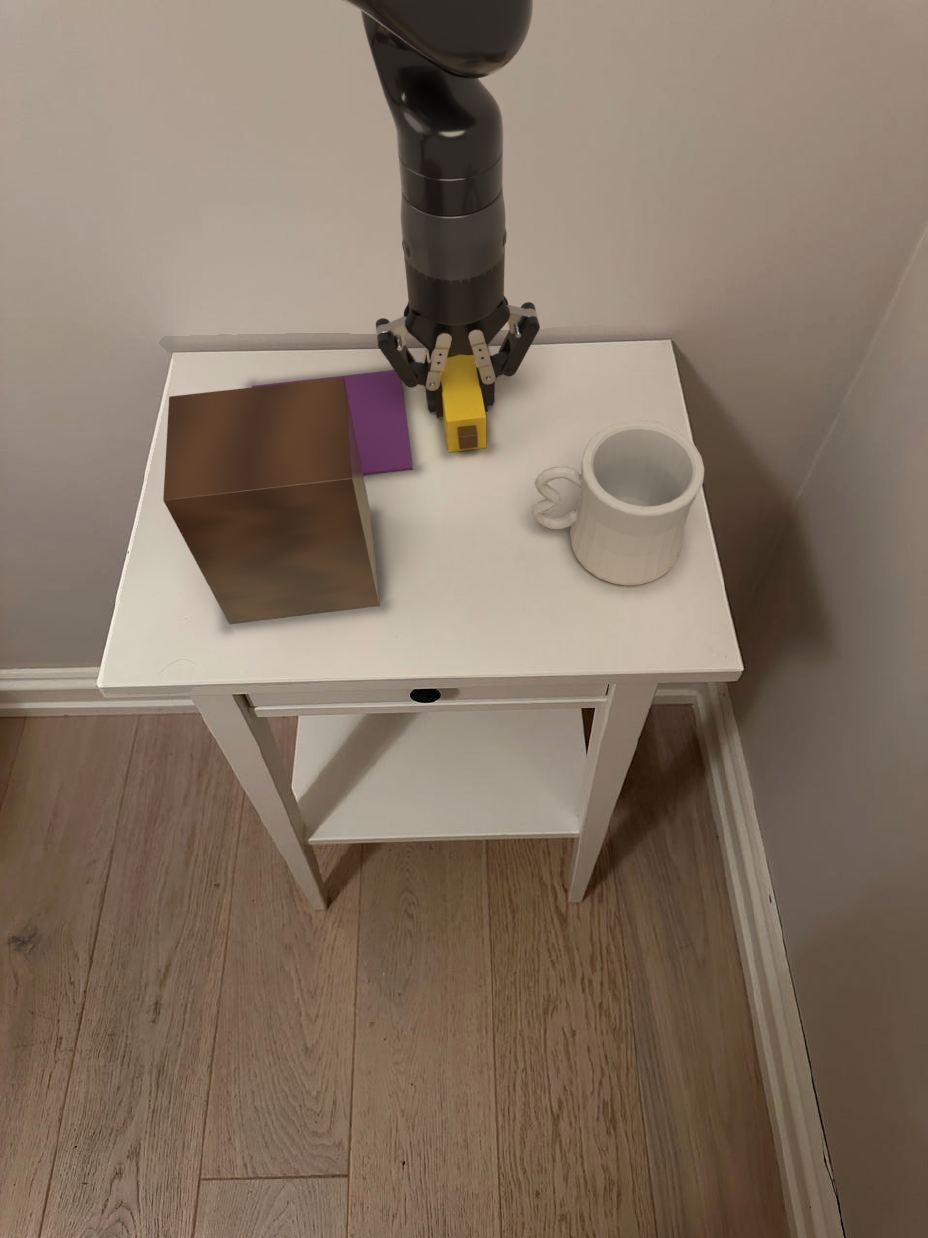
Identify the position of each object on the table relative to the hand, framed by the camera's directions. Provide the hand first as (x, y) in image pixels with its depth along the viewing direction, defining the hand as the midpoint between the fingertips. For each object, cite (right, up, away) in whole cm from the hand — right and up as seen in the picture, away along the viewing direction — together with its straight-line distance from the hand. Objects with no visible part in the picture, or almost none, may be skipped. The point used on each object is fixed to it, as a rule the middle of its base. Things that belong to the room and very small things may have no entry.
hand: (460, 407), depth 78 cm
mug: (+12, -13, -7) cm, 19 cm away
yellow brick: (0, 0, +1) cm, 1 cm away
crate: (-13, -15, -7) cm, 21 cm away
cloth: (-12, -2, 0) cm, 12 cm away
